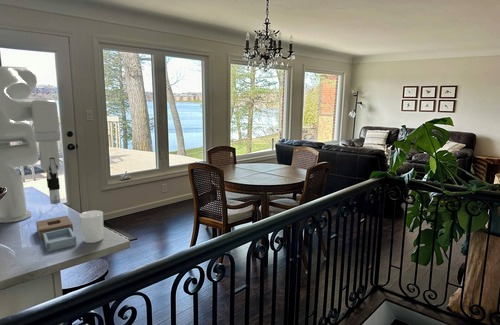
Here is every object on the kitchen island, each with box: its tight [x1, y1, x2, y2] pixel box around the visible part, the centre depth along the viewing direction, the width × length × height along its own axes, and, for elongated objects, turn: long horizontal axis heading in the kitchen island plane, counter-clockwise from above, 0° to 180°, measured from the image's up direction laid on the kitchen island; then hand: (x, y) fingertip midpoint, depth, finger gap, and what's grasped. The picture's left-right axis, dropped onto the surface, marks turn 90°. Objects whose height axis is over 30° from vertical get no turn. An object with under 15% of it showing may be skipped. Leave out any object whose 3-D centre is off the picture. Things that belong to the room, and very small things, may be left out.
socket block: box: [35, 215, 74, 241], centre depth 131 cm, size 11×11×4 cm
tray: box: [43, 228, 77, 252], centre depth 122 cm, size 11×9×3 cm
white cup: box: [78, 209, 104, 244], centre depth 124 cm, size 8×8×10 cm
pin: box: [46, 171, 61, 205], centre depth 118 cm, size 3×3×12 cm
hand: (53, 187), depth 118 cm, fingers closed on pin, 3 cm apart
